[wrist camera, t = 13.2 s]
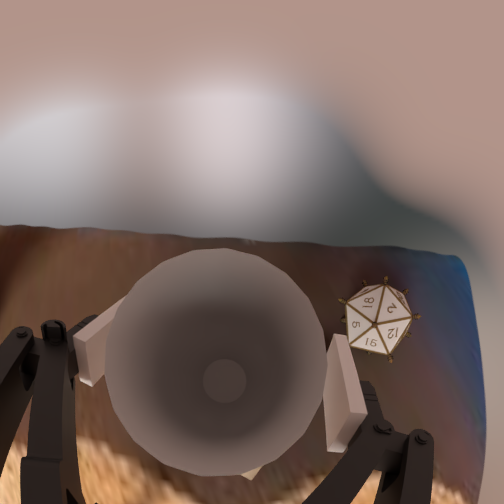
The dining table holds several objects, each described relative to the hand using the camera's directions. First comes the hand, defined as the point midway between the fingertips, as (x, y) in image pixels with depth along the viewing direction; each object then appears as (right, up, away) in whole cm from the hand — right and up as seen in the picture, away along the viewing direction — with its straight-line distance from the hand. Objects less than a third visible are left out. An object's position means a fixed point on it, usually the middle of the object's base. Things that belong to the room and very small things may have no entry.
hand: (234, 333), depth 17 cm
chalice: (-1, -7, +7) cm, 10 cm away
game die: (+14, -4, +14) cm, 20 cm away
